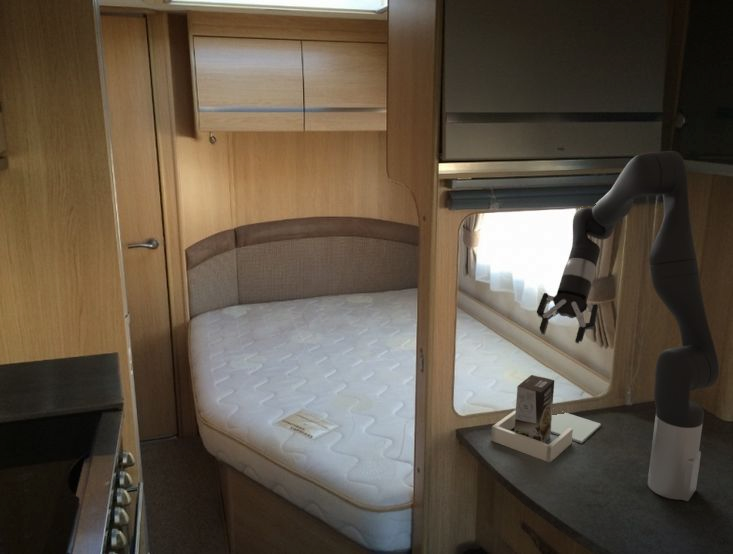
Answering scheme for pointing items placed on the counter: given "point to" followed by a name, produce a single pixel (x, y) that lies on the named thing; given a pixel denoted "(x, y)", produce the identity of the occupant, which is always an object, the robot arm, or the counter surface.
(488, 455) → the counter surface
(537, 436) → the coffee box
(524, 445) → the u-shaped box cradle
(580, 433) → the mat
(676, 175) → the robot arm
